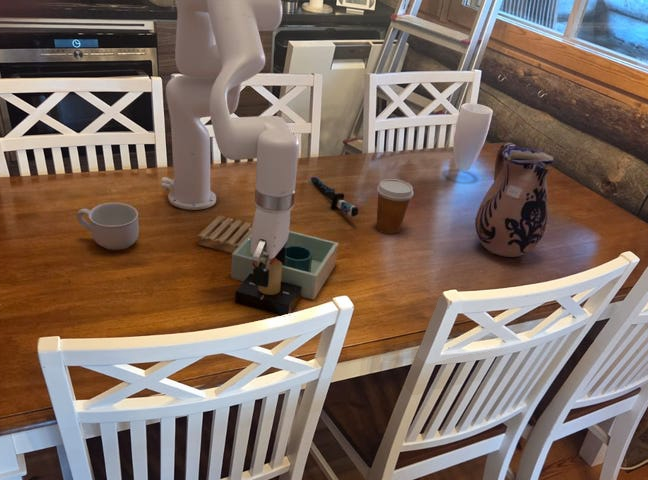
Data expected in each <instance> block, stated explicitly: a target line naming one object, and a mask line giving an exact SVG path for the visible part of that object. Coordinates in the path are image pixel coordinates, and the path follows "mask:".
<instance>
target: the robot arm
mask: <svg viewBox="0 0 648 480" xmlns="http://www.w3.org/2000/svg"><path fill="white" fill-rule="evenodd" d="M174 2H175V7H176V11H177V14H176V15H177V16H176V17H177V18H176V33H175V48H174V49H175V50H174V51H175V52H174V53H175V54H174V59H175V60H174V61H175V65H176V66H175V67H176V68H177V70H178V72H179V73H180V74H181V75H177V76H174V77H172V78H170V80H168V82H167V84H166V87H165V97H166V103H167V108H168V113H169V119H170V130H171V132H170V133H171V150H172V175H173V178H172V179H171V178H169V177H166V176H165V177H163V176H162V178H161V188H162V189H165V190H169V192H168V195H167V197H168V201H169V203H170V204H171V205H172V206H173V207H176V208H178V209H179V208H180V209H182V210H188V211H198V210H199V211H200V210H204V209H208V208H211V207H213V206H214V205H215V204H216V203H217V195H216V193H215V192H214V191H212V190H211V136H210V132H209V130H208V128H207V127H206V126H205V125H204V124H203V122H202V121H201V119H202V118H208V117H209V118H210V121H211V126H212V130H213V134H214V139H215V142H216V145H217V148H218V150H219V152H220V154H221V155H222V156H223V157H224V158H225V159H227V160H230V161H240V160H241V161H242V160H243V161H244V160H253V159H256V170H255V191H254V205H255V206H256V208H255V212H254V215H253V216H254V217H253V222H252V227H253V229H252V238H251V249H250V252H251V254H252V255H253V257H252V260H253V284H255V285H259V286H262V287H267V286H268V283H269V269H268V266H269V263H270V259H273V258H277V260H279V261H280V262H281V263H282V265H284V264H285V258H286V248H284V247H286V246H287V240H288V235H289V231H290V225H291V211H292V210H293V209H294V205H295V193H296V182H297V172H298V162H299V161H298V159H299V152H300V151H299V150H300V142H299V139H298V137H297V135H296V134H294V133H293V132H291V129H290V127H289V125H288V124H287V122H286V120H285V119H284V118H282V117H280V116H277V115H261V116H260V115H259V116H238V117H231V115H233V114H234V113H235V112H236V111H237V109H238V105H239V101H240V95H241V89H242V83H244V82H246V81H248V80H249V79H251V78H253V77H255V76H257V75H258V74H259V73H260V72H261V71H262V70H263V69H264V67H265V65H266V56H265V51H264V47H263V44H262V39H261V35H260V31H262V32H265V31H267V32H268V31H275V30H276V29H278V28H279V26H280V25H281V23H282V19H283V11H284V9H283V3H282V0H174ZM263 252H267V253H268V255H265V254H263ZM261 257H262V258H266V261H265V265H264V263H263V262H261Z"/></svg>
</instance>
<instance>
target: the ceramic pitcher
mask: <svg viewBox="0 0 648 480" xmlns="http://www.w3.org/2000/svg"><path fill="white" fill-rule="evenodd" d="M554 162H555V157H554V156H553V155H550V154H548V153H545V152H543V151H540V150H537V149H532V148H526V147H520V146H517V144H514V143H512V142H507V143H504V144H502V145H501V146H500V147H499V149H498V151H497V153H496V156H495V161H494V171H493V173H494V174H493V183H492V184H491V186H490V187H489V189H488V191H487V192H486V193H485V196H484V197H483V198H482V201H481V202H480V205H479V207H478V210H477V213H476V216H475V221H474V228H475V233H476V235H477V238H478V240H479V242H480V243H481V245H482V246H483V248H485V250H487V251H488V252H490V253H491V254H494V255H496V256H499V257H504V258H505V257H506V258H515V257H521V256H523V255H525V254H528V253H529V252H531V251H532V250H533V249H534V248H535V247H536V246H537V245H538V244H539V243H540V241H541V239H542V238H543V236H544V234H545V232H546V227H547V222H548V207H549V206H548V202H549V201H548V197H549V196H548V195H549V194H548V172H549V170H550V166H551V165H552V164H553V163H554Z"/></svg>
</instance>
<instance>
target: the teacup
mask: <svg viewBox="0 0 648 480" xmlns="http://www.w3.org/2000/svg"><path fill="white" fill-rule="evenodd" d="M83 215H86V216H87V217H88V220H89V222H88V221H86V219H85V218H84V217H83ZM76 218H77V221H78V222H79V223H80V224H81V226H82V227H84V228H85V229H86V230H88V231H90V233H91V236H92V239H93V240H94V242H95V243H96V244H97V245H98V246H100V247H102V248H104V249H106V250H109V251H122V250H125V249H127V248H129V247H131V246H132V245H133V244H135V243H136V241H137V240H138V238H139V233H140V231H139V229H140V228H139V227H140V226H139V212H138V210H137V209H136V208H135V207H134V206H132V205H130V204H127V203H124V202H105V203H101V204H98V205H96V206H94V207H93V208H91V209H88V208H81V209H79V210H78V212H77V213H76Z"/></svg>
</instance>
